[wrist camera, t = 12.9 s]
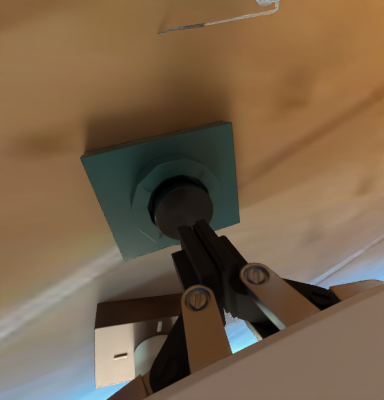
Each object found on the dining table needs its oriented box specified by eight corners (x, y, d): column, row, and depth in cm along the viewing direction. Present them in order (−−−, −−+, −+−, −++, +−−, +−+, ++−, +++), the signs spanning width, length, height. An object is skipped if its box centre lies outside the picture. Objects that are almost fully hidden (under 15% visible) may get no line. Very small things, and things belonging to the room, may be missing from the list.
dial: (175, 358, 26) (185, 406, 22) (133, 368, 24) (135, 422, 20) (179, 330, 24) (191, 378, 20) (134, 339, 22) (137, 393, 18)
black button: (159, 234, 17) (163, 247, 16) (145, 186, 15) (147, 196, 14) (208, 218, 18) (216, 230, 17) (200, 171, 16) (209, 179, 15)
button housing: (124, 248, 21) (124, 277, 18) (84, 152, 17) (74, 164, 13) (231, 214, 23) (250, 233, 20) (221, 120, 19) (244, 124, 15)
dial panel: (97, 361, 27) (94, 390, 24) (97, 303, 23) (93, 330, 20) (193, 341, 31) (200, 365, 28) (206, 290, 27) (216, 311, 24)
